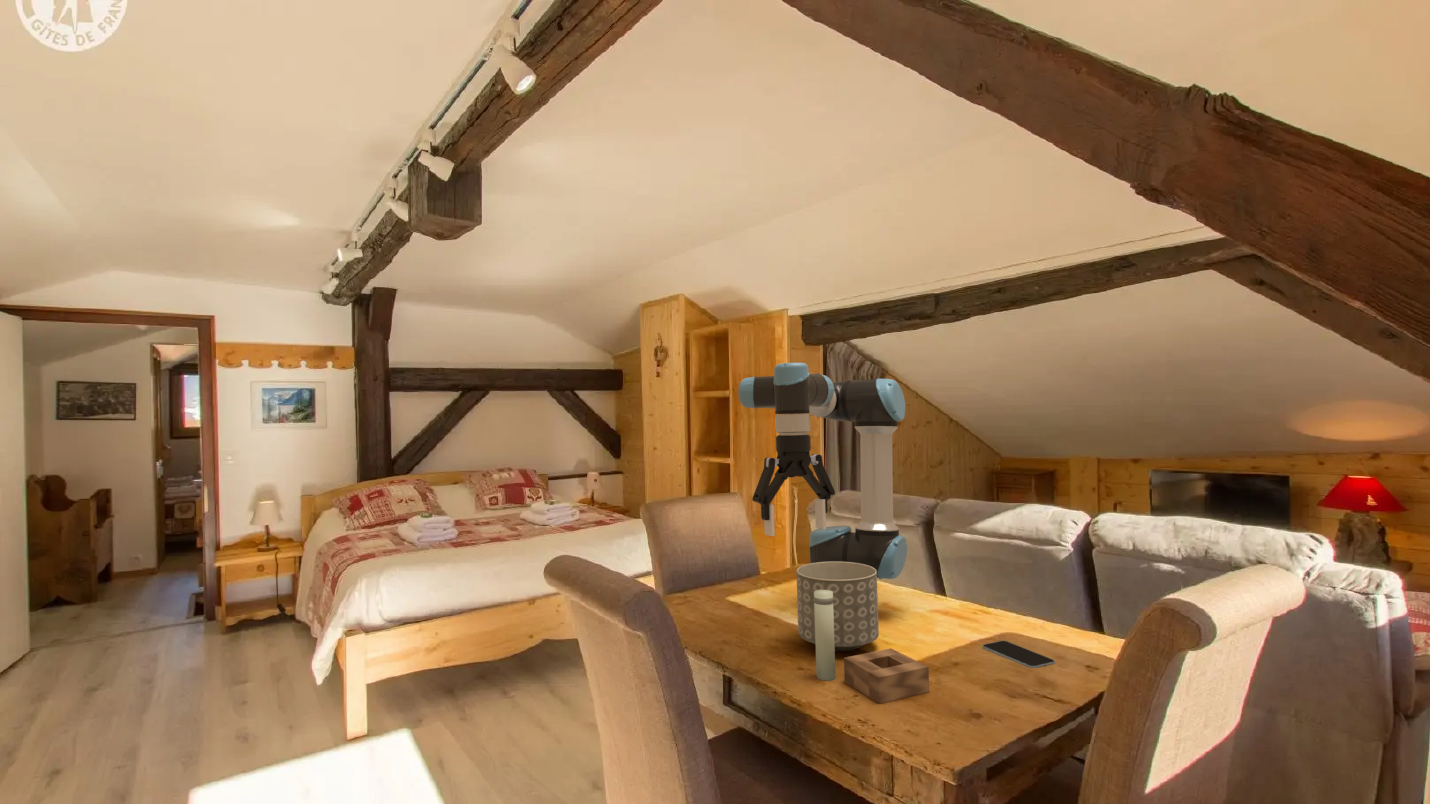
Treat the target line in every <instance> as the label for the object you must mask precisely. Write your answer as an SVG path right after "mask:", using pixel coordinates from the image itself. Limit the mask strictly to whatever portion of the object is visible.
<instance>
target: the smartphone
mask: <svg viewBox="0 0 1430 804" xmlns="http://www.w3.org/2000/svg"><path fill="white" fill-rule="evenodd" d="M982 649H983V650H985V651H988V652H991V653H993V654H995V655H998V656H1000V655H1001V657H1003V658H1004V659H1007V660H1009V661H1012V662H1015V663H1018V664H1019V665H1022V666H1024V667H1027V668H1030V669H1037V668H1042V667H1044V666H1050V665H1054V664H1056V659H1052V658H1050V657H1048V656H1045V655H1042V654H1040V653H1038V652H1035V651H1033V650H1030V649H1028V648H1025V647H1023V646H1020V645H1017V644H1015V643H1012V642H1010V641H1007V640H998V641H995V642H989V643H984V644H982Z"/></svg>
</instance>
